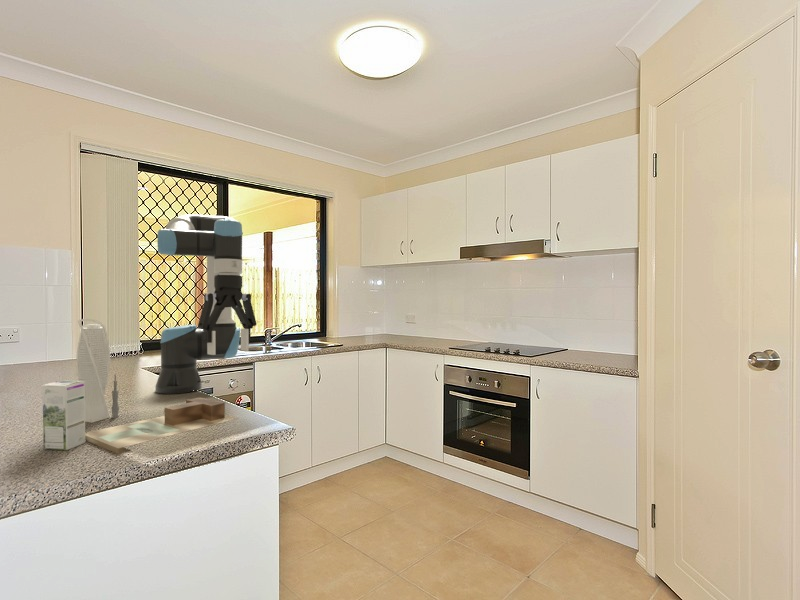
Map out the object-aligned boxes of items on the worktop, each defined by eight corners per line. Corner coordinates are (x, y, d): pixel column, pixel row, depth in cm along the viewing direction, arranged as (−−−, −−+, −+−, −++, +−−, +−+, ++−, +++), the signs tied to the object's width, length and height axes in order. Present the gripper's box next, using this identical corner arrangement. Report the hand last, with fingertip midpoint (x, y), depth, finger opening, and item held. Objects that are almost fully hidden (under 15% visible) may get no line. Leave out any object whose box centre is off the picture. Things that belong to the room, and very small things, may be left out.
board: (198, 412, 133) (198, 408, 133) (239, 422, 122) (239, 418, 122) (81, 438, 108) (81, 433, 108) (118, 454, 97) (118, 448, 97)
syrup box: (86, 442, 105) (86, 379, 105) (65, 451, 99) (65, 384, 99) (63, 441, 106) (63, 379, 106) (41, 450, 100) (41, 384, 100)
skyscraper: (94, 429, 116) (94, 319, 116) (67, 427, 118) (67, 319, 117) (120, 420, 124) (120, 317, 124) (95, 418, 126) (95, 317, 126)
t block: (199, 411, 129) (199, 397, 129) (224, 417, 122) (224, 402, 122) (156, 420, 119) (156, 405, 119) (181, 428, 112) (181, 412, 112)
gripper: (198, 272, 119) (199, 357, 119) (269, 276, 137) (269, 349, 137) (183, 273, 123) (183, 355, 123) (253, 276, 141) (253, 348, 142)
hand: (228, 352), depth 130 cm, fingers open, 10 cm apart
